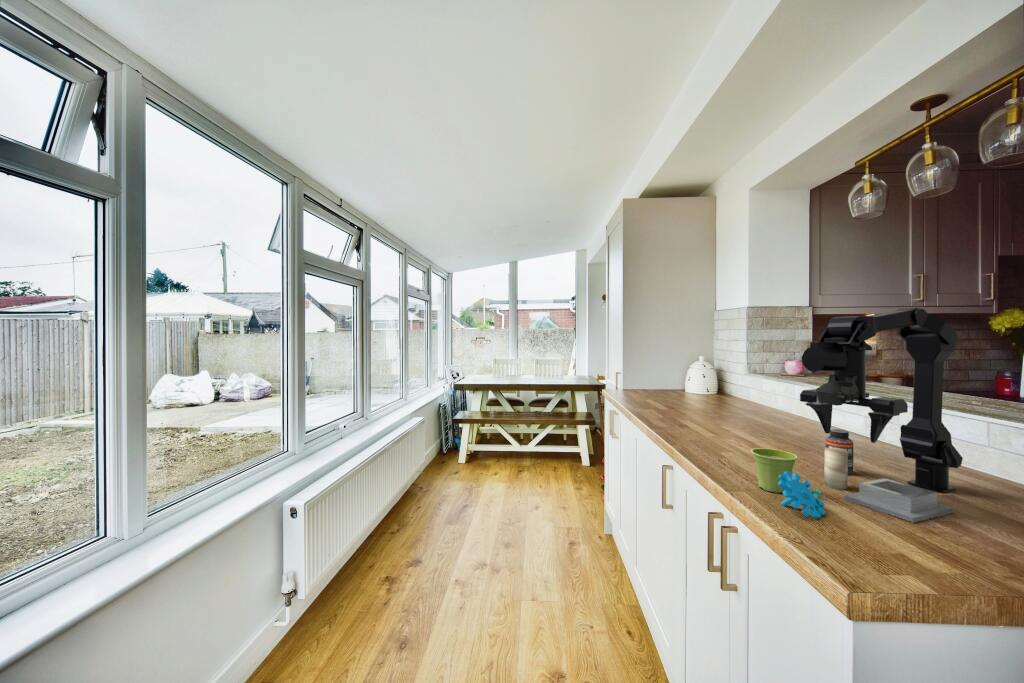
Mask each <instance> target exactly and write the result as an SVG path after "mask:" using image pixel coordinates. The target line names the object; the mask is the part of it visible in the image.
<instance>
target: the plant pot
mask: <svg viewBox="0 0 1024 683" xmlns="http://www.w3.org/2000/svg"><path fill="white" fill-rule="evenodd" d="M750 452H751V454H752V455H753V456H752V458H753V459H754V463H755V470H756V477H757V478H756V479H757V482H758V484H757V485H758V487H759V488H762V490H764V491H767V492H772V493H774V492H775V494H780V493H782V492H783V491H784V490H786V489H784V488H782V487H780V486H779V485H778V482H779V481H781V479H780V478H779V477H778V476H779V475H781V474H783V473H784V472H786V471H789V472H791V473H792V474H793V468H794V465H795V463H796V461H797V460H798V456H797V454H795V453H792V452H789V451H784V450H780V449H775V448H765V447H760V448H759V447H758V448H757V447H756V448H751V450H750Z"/></svg>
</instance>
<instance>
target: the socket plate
mask: <svg viewBox="0 0 1024 683" xmlns="http://www.w3.org/2000/svg"><path fill="white" fill-rule="evenodd" d="M843 498H844V499H845V500H844V501H847V500H848V501H847V502H850V501H851V502H850V503H853V502H854V504H856V503H857V505H858V504H860V505H859V506H861V505H863V506H862V507H864V506H867V507H870V508H873V509H875V510H874V511H876V510H878V511H877V512H879V511H881V512H880V513H882V512H883V513H882V514H885V513H886V514H885V515H888V514H890V515H892V516H891V517H893V516H896V517H899V518H902V519H905V520H908V521H911V522H916V521H920V520H923V521H925V520H924V519H927V520H930V519H929V518H931V519H934V517H935V518H939V517H942V516H946V514H947V515H951V514H953V513H954V508H953V507H950V506H947V505H943V504H940V503H938V502H937V507H934V508H930V509H926V510H922V511H918V512H913V513H909V512H906V511H903V510H900V509H897V508H894V507H891V506H887V505H884V504H881V503H878V502H875V501H872V500H869V499H866V498H863V497H860V496H859V491H858V492H853V493H849V494H844V497H843ZM867 507H866V508H867ZM870 508H869V509H870ZM873 509H872V510H873ZM950 513H951V514H950ZM890 515H889V516H890ZM896 517H895V518H896ZM899 518H898V519H899ZM902 519H901V520H902ZM905 520H904V521H905ZM908 521H907V522H908ZM911 522H910V523H911ZM920 522H921V521H920ZM916 523H917V522H916Z"/></svg>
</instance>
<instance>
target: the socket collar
mask: <svg viewBox="0 0 1024 683" xmlns="http://www.w3.org/2000/svg"><path fill="white" fill-rule="evenodd" d="M858 484H859V486H858V487H859V488H858V489H859V490H858V492H859V496H860V497H863V498H866V499H869V500H872V501H875V502H878V503H881V504H884V505H887V506H891V507H894V508H897V509H900V510H903V511H906V512H909V513H913V512H918V511H922V510H926V509H930V508H934V507H937V503H938V501H937V500H938V497H937V495H938V492H937V491H935V492H934V491H933V490H930V489H926V488H922V487H919V486H915V485H912V484H908V483H907V484H906V483H903V482H899V481H896V480H892V479H890V478H889V479H888V478H878V479H874V480H868V481H863V482H859V483H858Z"/></svg>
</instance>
